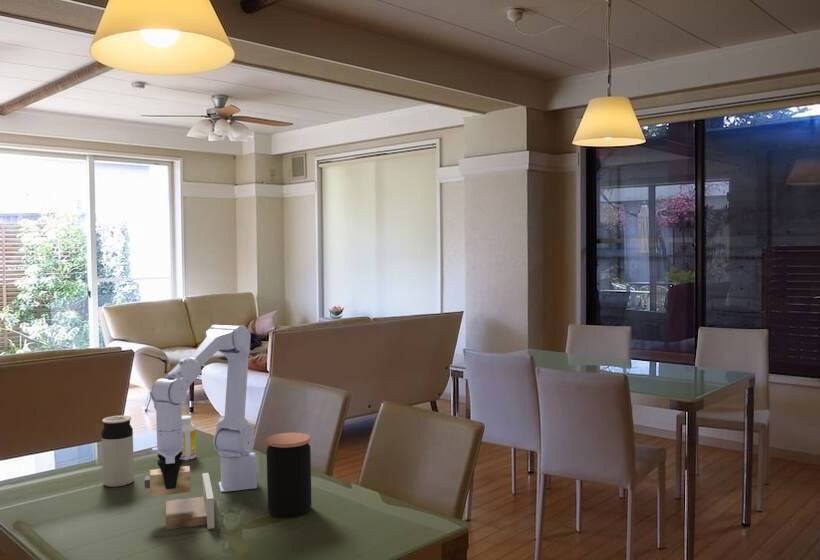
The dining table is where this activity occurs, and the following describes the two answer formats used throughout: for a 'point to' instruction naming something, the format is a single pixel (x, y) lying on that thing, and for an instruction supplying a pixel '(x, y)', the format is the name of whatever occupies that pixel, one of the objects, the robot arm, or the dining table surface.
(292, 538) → the dining table surface
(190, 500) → the brown rectangular panel
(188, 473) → the tan rectangular block
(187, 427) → the supplement bottle
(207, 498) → the shelf board
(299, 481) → the coffee jar
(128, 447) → the travel mug
